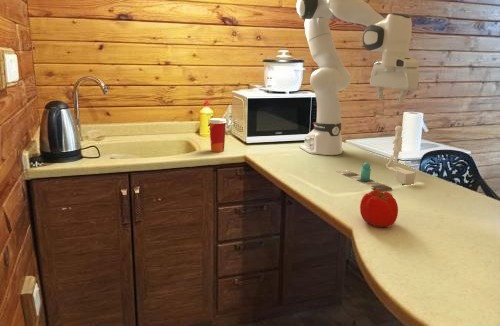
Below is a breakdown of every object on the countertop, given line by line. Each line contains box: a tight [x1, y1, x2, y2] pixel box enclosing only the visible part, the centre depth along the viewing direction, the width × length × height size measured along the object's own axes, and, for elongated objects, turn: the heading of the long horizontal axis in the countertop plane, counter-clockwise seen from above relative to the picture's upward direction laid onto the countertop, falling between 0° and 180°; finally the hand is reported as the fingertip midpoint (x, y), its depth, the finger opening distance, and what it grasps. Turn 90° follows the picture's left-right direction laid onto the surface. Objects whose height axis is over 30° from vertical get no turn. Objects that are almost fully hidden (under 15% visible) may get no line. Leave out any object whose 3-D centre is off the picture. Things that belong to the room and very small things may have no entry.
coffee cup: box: [208, 117, 227, 153], centre depth 190 cm, size 8×8×15 cm
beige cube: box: [395, 169, 416, 186], centre depth 146 cm, size 4×4×4 cm
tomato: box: [359, 190, 399, 228], centre depth 109 cm, size 11×11×9 cm
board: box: [335, 169, 393, 192], centre depth 148 cm, size 24×6×1 cm, turn 25°
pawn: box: [360, 162, 372, 182], centre depth 146 cm, size 3×3×7 cm
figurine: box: [385, 125, 405, 172], centre depth 161 cm, size 8×8×18 cm
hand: (390, 101), depth 148 cm, fingers open, 8 cm apart
